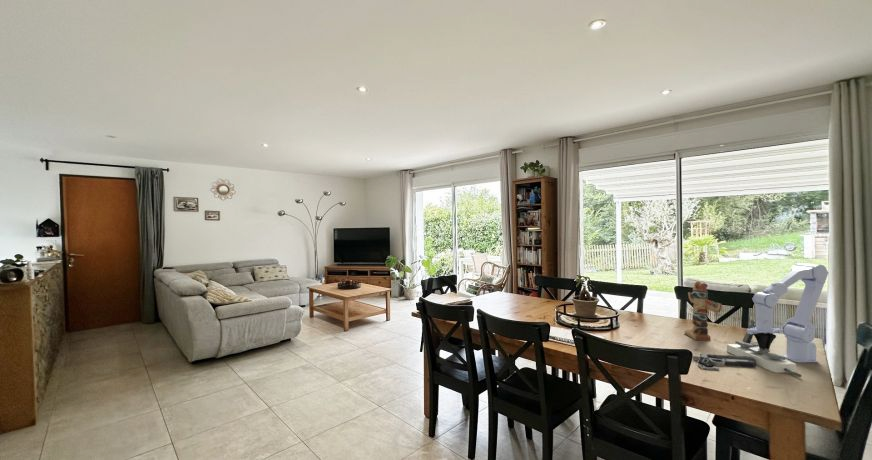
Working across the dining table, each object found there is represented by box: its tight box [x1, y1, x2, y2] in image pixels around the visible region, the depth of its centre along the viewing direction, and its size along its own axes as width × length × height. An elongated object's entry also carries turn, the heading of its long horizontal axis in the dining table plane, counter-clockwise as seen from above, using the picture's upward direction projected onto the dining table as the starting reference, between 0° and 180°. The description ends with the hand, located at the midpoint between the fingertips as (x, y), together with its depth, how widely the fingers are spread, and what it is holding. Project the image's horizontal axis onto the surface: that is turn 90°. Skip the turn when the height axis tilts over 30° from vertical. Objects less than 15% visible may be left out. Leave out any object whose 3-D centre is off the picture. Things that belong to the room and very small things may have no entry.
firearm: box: [692, 352, 757, 371], centre depth 158 cm, size 3×24×15 cm
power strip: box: [726, 343, 802, 378], centre depth 159 cm, size 9×30×4 cm, turn 1°
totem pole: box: [684, 280, 723, 342], centre depth 194 cm, size 29×7×30 cm, turn 172°
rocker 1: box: [734, 340, 756, 348], centre depth 168 cm, size 6×4×1 cm, turn 92°
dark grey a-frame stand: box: [742, 319, 759, 347], centre depth 183 cm, size 9×6×12 cm, turn 59°
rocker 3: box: [763, 352, 786, 360], centre depth 154 cm, size 6×4×1 cm, turn 92°
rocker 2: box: [748, 346, 771, 354], centre depth 161 cm, size 6×4×1 cm, turn 91°
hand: (764, 349), depth 161 cm, fingers closed on rocker 2
